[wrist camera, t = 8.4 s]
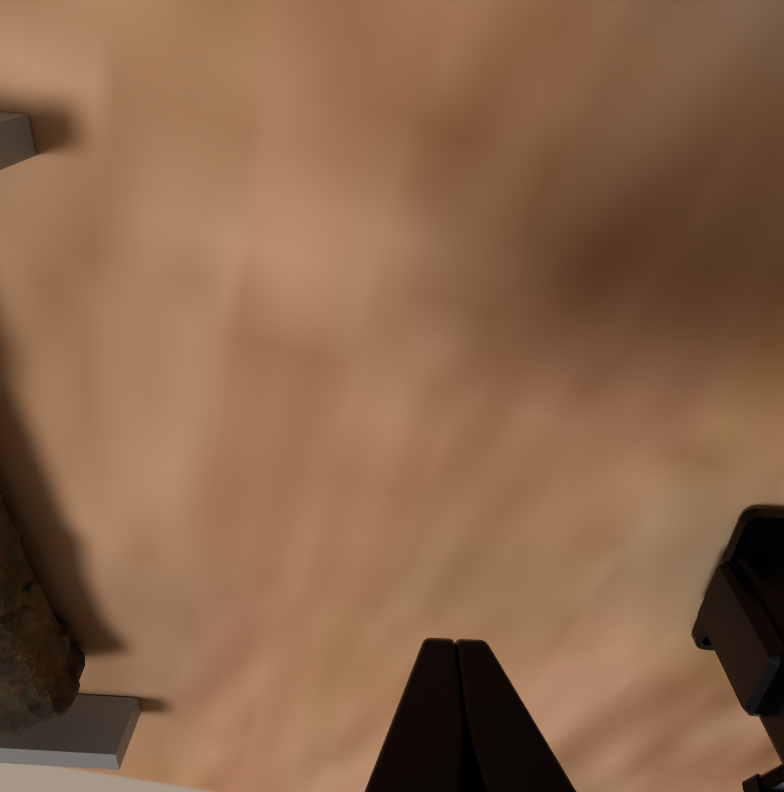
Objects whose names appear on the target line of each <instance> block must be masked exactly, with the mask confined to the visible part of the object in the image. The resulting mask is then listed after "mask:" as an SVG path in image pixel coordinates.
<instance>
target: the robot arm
mask: <svg viewBox="0 0 784 792" xmlns="http://www.w3.org/2000/svg"><path fill="white" fill-rule="evenodd" d="M756 523H759V524H758V525H756V526H753V525H755V524H756ZM691 635H692V637H693V640H694V642H695V644H696V646H697V647H698V648H700V649H704V650H715V652H716V654H717V656H718V658H719V660H720V662H721V664H722V666H723V669H724V671H725V673H726V675H727V677H728V679H729V681H730V683H731V685H732V687H733V689H734V691H735V694H736V696H737V698H738V700H739V702H740V704H741V706H742V708H743V709H744V710H745V711H746V712H747V714H748V715H750V716H759V718H760V720H761V722H762V724H763V726H764V728H765V730H766V732H767V734H768V736H769V738H770V740H771V742H772V744H773V746H774V748H775V750H776V752H777V754H778V756H779V758H780V760H781V762H782V764H781V765H779V766H777V767H776V768H774V769H772V770H770V771H768V772H767V773H765V774H763V775H759V774H756V775H754V776H752V777H750V778H748V779H747V780H745V781H743V782H742V786H743V791H744V792H784V511H781V510H766V509H753V510H750V511H747V512H746V513H744V514H743V515H742V516H741V517H740V519H739V521H738V523H737V526H736V528H735V530H734V533H733V535H732V537H731V540H730V542H729V545H728V547H727V549H726V552H725V554H724V556H723V559H722V561H721V563H720V565H719V566H718V567H717V569H716V572H715V574H714V576H713V579H712V581H711V583H710V586H709V588H708V591H707V593H706V595H705V598H704V600H703V602H702V605H701V607H700V610H699V612H698V618H697V620H696V623H695V625H694V628H693V630H692V634H691ZM365 792H576V790H575V789H574V787H573V785H572V784H571V782H570V780H569V779H568V777H567V775H566V774H565V772H564V770H563V769H562V767H561V765H560V764H559V762H558V760H557V759H556V757H555V755H554V754H553V752H552V750H551V749H550V747H549V745H548V744H547V742H546V740H545V739H544V737H543V735H542V734H541V732H540V730H539V729H538V727H537V725H536V724H535V722H534V720H533V719H532V717H531V715H530V714H529V712H528V710H527V708H526V707H525V705H524V703H523V702H522V700H521V698H520V697H519V695H518V693H517V692H516V690H515V688H514V687H513V685H512V683H511V682H510V680H509V678H508V677H507V675H506V673H505V672H504V670H503V668H502V667H501V665H500V663H499V662H498V660H497V658H496V657H495V655H494V653H493V652H492V650H491V648H490V647H489V645H488V644H487V643H486V642H485V641H483V640H471V639H459V640H457V641H456V642H455V643H454V641H453V640H451V639H446V638H427V639H425V640H424V641H423V643H422V646H421V648H420V651H419V653H418V656H417V659H416V661H415V664H414V666H413V669H412V671H411V674H410V677H409V679H408V682H407V684H406V687H405V689H404V692H403V695H402V697H401V700H400V702H399V705H398V707H397V710H396V713H395V715H394V718H393V720H392V723H391V725H390V728H389V731H388V733H387V736H386V738H385V741H384V743H383V746H382V749H381V751H380V754H379V756H378V759H377V761H376V764H375V767H374V769H373V772H372V774H371V777H370V779H369V782H368V785H367V787H366V790H365Z"/></svg>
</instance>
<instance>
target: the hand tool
mask: <svg viewBox="0 0 784 792" xmlns="http://www.w3.org/2000/svg"><path fill="white" fill-rule="evenodd" d="M70 635H71V629H70V624H68V623H65V622H62V623H59V622H57V620H56V619H55V617H54V615H53V613H52V611H51V608H50V606H49V604H48V602H47V599H46V596H45V593H44V591H43V590H42V588H41V586H40V585H39V583H38V582H37V580H36V578H35V576H34V574H33V572H32V569H31V567H30V565H29V563H28V560H27V558H26V556H25V553H24V551H23V548H22V546H21V544H20V528H19V526H18V525H16V524H15V523H14V522H13V521H12V520H11V519H10V518H9V515H8V513H7V511H6V508H5V505H4V503H3V500H2V497H1V494H0V733H4V734H5V735H7V736H8V737H12V736H17V735H19V734H22V733H24V732H27V731H29V730H30V729H32V728H34V727H36V726H38V725H40V724H42V723H45V722H48V721H50V720H52V719H54V718H56V717H59V716H62V715H64V714H66V712H67V711H68V710H69V708H70V707H71V705H72V704H73V702H74V700H75V698H76V696H77V693H78V691H79V687H80V683H79V679H80V677H81V674H82V672H83V669H84V667H85V653H84V652H83V651H81V650H80V649H78V648H76V647H74V646H71V645H70Z"/></svg>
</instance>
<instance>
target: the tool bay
mask: <svg viewBox="0 0 784 792" xmlns="http://www.w3.org/2000/svg"><path fill="white" fill-rule="evenodd" d="M33 156H36V153H35V148H34V142H33V137H32V132H31V126H30V121H29V116H28V114H20V113H7V112H0V170H1V169H4V168H6V167H9V166H11V165H13V164H16V163H18V162H21V161H23V160H26V159H28V158H31V157H33ZM139 716H140V707H139V702H138V698H131V697H114V696H97V695H81V694H77V696H76V698H75V700H74V702H73V704H72V705H71V707H70V708H69V710H68V711H67V712H66V714H64V715H62V716H59V717H56V718H54V719H52V720H50V721H48V722H45V723H42V724H40V725H38V726H36V727H34V728H32V729H30V730H29V731H27V732H24V733H22V734H19V735H17V736H12V737H8V736H7V735H5V734H4V733H0V763H11V764H28V765H45V766H62V767H80V768H97V769H115V770H119V769H120V766H121V764H122V761H123V758H124V756H125V753H126V750H127V748H128V745H129V742H130V740H131V737H132V734H133V732H134V729H135V726H136V724H137V721H138V718H139Z"/></svg>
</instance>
